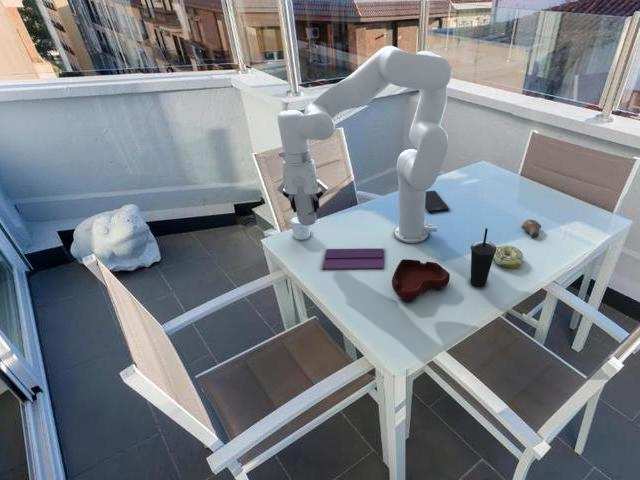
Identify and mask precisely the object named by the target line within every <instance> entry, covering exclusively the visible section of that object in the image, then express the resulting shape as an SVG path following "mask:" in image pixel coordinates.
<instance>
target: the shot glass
mask: <svg viewBox="0 0 640 480" xmlns="http://www.w3.org/2000/svg"><path fill="white" fill-rule="evenodd" d="M289 223H290V226H291V229H292V232H293V236H294V239H296V240H301V241H304V240H308V239H309V238H310V237H311V227H310V226H311V225H308V226H305V225H302V224H301V223H300V222H299V221H298V217H297V215H294V216H292V217H291V218H290V219H289Z"/></svg>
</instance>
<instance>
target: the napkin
mask: <svg viewBox="0 0 640 480" xmlns="http://www.w3.org/2000/svg"><path fill="white" fill-rule="evenodd" d="M325 251H326V252H325V256H324V259H323V265H322V270H376V269H377V270H379V269H381V270H382V269H384V249H383V248H327V249H326V250H325Z"/></svg>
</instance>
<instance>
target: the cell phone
mask: <svg viewBox="0 0 640 480" xmlns="http://www.w3.org/2000/svg"><path fill="white" fill-rule="evenodd" d="M425 210H426V211H427V212H428V213H429V214H432V213H440V212H448V211H450V208H449V207H448V205H447V204H446V202H445V201H444V200H443V199H442V197H440V195H439V194H438V193H437V191H436V190H426V198H425Z"/></svg>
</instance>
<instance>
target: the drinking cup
mask: <svg viewBox="0 0 640 480" xmlns="http://www.w3.org/2000/svg"><path fill="white" fill-rule="evenodd" d="M488 231H489V228H487V227H485V230H484V234H483V240H477V241H474V242H472V243H471V244H470V250H471V253H470V285H471V286H472V287H474V288H476V289H482V288H484V287H485V286H486V284H487V281H488V278H489V274H490V271H491V267H492V264H493V262H494V260H493V257H494V254H495V253H496V250H497V248H496V245H495V244H494V243H493V242H490V241H487V236H488Z"/></svg>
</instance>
